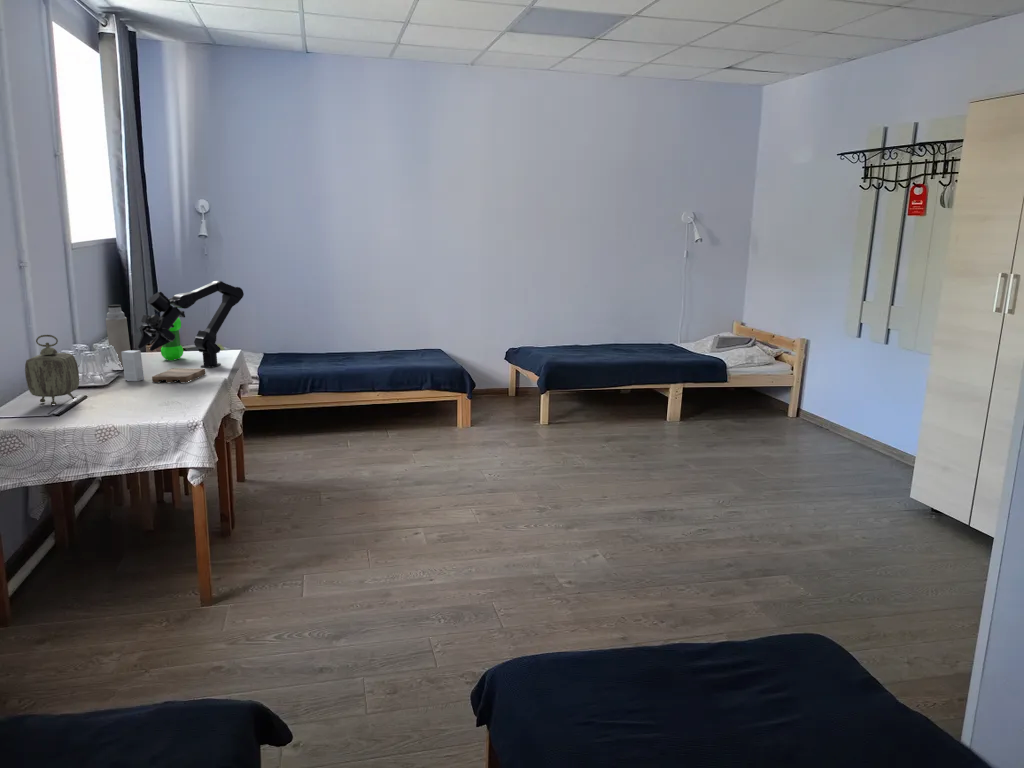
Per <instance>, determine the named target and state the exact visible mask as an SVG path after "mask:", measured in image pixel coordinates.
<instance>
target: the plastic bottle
mask: <svg viewBox="0 0 1024 768" xmlns="http://www.w3.org/2000/svg"><path fill="white" fill-rule="evenodd" d="M173 325H174V327H173V328H170V329H169V330H170V331H171V332H172V333H173V334H175V339H174V340H173V341H170V343H167V344H165V345H162V346H161V348H160V355H161V356H162V357H163V358H164V359H165V360H167V359H168V360H167V361H175V360H174V359H178V358H179V359H181V358H182V356H183V355H184V348H183V346H182V345H181V338H180V330H181V328H182V321H181V318H180V317H178V319H177V320H176V321H175V323H174V324H173ZM179 359H178V360H179Z"/></svg>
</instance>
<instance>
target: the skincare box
mask: <svg viewBox="0 0 1024 768" xmlns="http://www.w3.org/2000/svg"><path fill="white" fill-rule="evenodd" d="M121 354H122V362H123V369H124V371H123V376H124V381H125V380H127V381H126V382H141V381H143V380H144V379H145V375H144V368H143V367H144V366H143V359H142V352H141V350H133V349H132V350H131V349H130V350H128V351H124V352H121Z"/></svg>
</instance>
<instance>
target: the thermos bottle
mask: <svg viewBox="0 0 1024 768" xmlns="http://www.w3.org/2000/svg"><path fill="white" fill-rule="evenodd" d="M107 307H108V312H107V313H106V318H105V324H106V325H105V326H106V333H107V339H108V340H107V341H108V346H109V345H112V346H114V347H115V349H116V352H117V354H118V358H119V361H120V362H121V365H122V367H123V362H122V354H121V352H124V351H128V350H131V344H130V343H131V342H130V336H129V328H128V321H127V319H128V318H127V317H126V316H125V312H123V311H122V305H121V304H109V305H107Z"/></svg>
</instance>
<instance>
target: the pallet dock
mask: <svg viewBox="0 0 1024 768" xmlns="http://www.w3.org/2000/svg"><path fill="white" fill-rule="evenodd" d="M205 374H206V368H187V367H186V368H183V367H182V368H175V367H174V368H169V369H167V370H165V371H163V372H160V373H158V374H155V375H152V377H151V378H152V383H153V382H160V381H162V380H164V381H165V382H174V383H176V382H178V381H179V383H180V382H188V381H190V380H192V381H194V380H196V379H195V378H197V379H199V378H201V377H203V376H205ZM202 375H203V376H202ZM200 376H201V377H200ZM198 377H199V378H198ZM193 379H194V380H193ZM177 380H178V381H177ZM175 381H176V382H175ZM162 382H163V381H162ZM190 382H191V381H190ZM160 383H161V382H160ZM188 383H189V382H188Z"/></svg>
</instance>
